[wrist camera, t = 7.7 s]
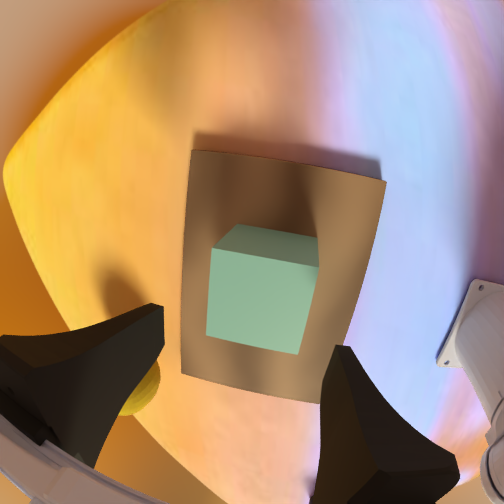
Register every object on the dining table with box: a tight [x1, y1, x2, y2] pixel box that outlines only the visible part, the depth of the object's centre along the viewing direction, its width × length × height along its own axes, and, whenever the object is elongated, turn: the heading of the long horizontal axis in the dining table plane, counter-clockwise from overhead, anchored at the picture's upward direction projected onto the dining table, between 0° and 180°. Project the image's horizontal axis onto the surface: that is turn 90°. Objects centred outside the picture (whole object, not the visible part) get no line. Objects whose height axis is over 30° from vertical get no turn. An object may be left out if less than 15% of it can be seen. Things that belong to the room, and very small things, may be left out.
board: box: [181, 150, 387, 404], centre depth 20 cm, size 12×18×1 cm, turn 173°
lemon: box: [118, 360, 160, 415], centre depth 22 cm, size 6×6×8 cm
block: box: [206, 224, 319, 355], centre depth 17 cm, size 5×5×5 cm
